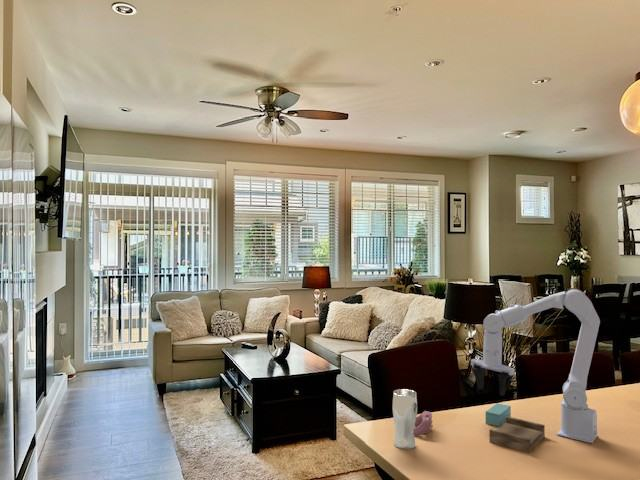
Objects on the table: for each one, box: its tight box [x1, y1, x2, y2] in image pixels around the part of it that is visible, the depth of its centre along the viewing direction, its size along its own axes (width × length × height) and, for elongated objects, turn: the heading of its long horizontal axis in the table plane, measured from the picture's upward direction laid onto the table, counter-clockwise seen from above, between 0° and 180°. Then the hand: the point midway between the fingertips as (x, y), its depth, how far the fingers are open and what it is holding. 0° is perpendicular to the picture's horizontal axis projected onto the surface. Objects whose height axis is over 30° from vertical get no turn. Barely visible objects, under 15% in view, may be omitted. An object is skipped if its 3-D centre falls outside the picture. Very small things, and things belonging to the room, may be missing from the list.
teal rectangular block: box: [485, 402, 512, 428], centre depth 155 cm, size 4×11×4 cm, turn 141°
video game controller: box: [414, 410, 433, 437], centre depth 146 cm, size 10×5×7 cm, turn 168°
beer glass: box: [392, 388, 418, 450], centre depth 135 cm, size 7×7×15 cm
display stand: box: [489, 416, 546, 453], centre depth 140 cm, size 11×15×4 cm
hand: (491, 392), depth 154 cm, fingers open, 7 cm apart
